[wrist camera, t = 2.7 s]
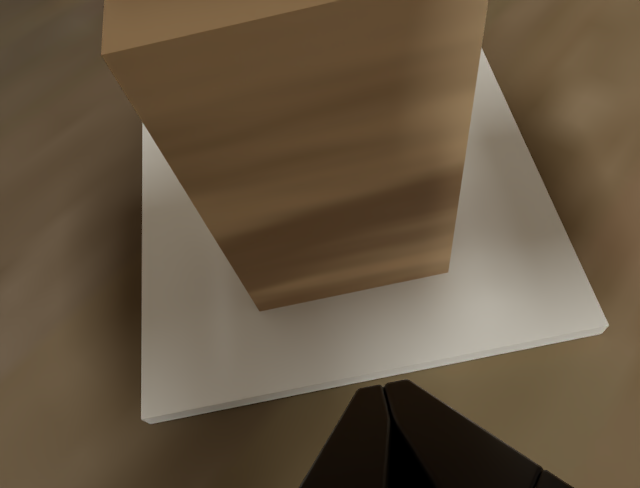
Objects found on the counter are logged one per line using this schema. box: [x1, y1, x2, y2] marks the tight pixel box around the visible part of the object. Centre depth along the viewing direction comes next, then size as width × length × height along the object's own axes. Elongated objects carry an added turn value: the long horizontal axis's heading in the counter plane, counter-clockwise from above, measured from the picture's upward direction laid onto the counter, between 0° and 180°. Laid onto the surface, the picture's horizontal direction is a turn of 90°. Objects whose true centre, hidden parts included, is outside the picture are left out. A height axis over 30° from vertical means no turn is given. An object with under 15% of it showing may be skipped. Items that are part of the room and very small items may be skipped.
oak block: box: [101, 0, 488, 311], centre depth 16 cm, size 4×7×12 cm, turn 99°
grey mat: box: [141, 48, 609, 424], centre depth 24 cm, size 22×16×1 cm
